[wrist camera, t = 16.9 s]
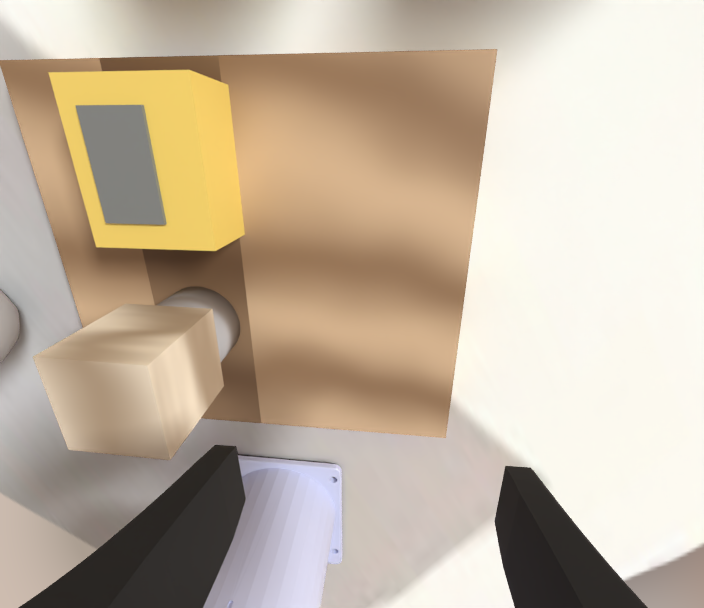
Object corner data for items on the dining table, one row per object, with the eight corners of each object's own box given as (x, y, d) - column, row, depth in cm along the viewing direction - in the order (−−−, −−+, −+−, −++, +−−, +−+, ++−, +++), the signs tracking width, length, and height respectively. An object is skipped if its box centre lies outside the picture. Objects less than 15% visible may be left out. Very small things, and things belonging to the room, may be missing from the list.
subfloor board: (442, 419, 22) (445, 437, 20) (126, 395, 24) (109, 411, 22) (487, 58, 15) (497, 49, 13) (31, 67, 17) (-2, 60, 15)
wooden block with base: (235, 288, 18) (147, 365, 12) (244, 358, 20) (170, 460, 13) (159, 284, 18) (32, 356, 12) (173, 353, 20) (68, 449, 14)
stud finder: (244, 234, 17) (214, 252, 14) (143, 231, 17) (93, 248, 15) (228, 85, 15) (186, 68, 12) (111, 86, 15) (44, 71, 12)
